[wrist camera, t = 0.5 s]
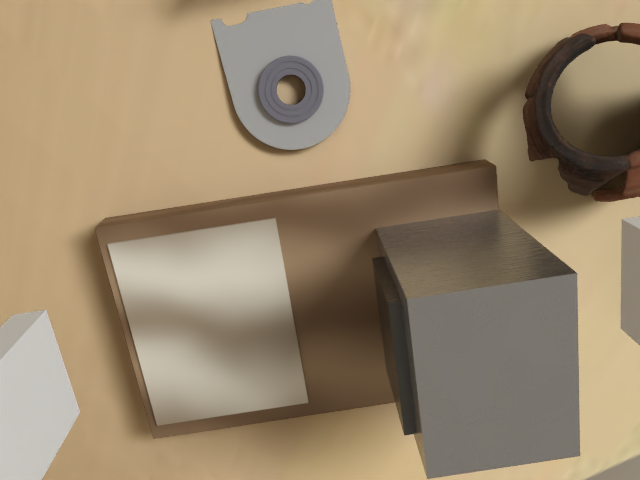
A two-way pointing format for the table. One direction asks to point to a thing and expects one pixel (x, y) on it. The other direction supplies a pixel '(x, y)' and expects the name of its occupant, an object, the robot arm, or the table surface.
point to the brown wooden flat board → (268, 295)
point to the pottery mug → (544, 137)
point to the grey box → (479, 342)
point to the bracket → (286, 72)
